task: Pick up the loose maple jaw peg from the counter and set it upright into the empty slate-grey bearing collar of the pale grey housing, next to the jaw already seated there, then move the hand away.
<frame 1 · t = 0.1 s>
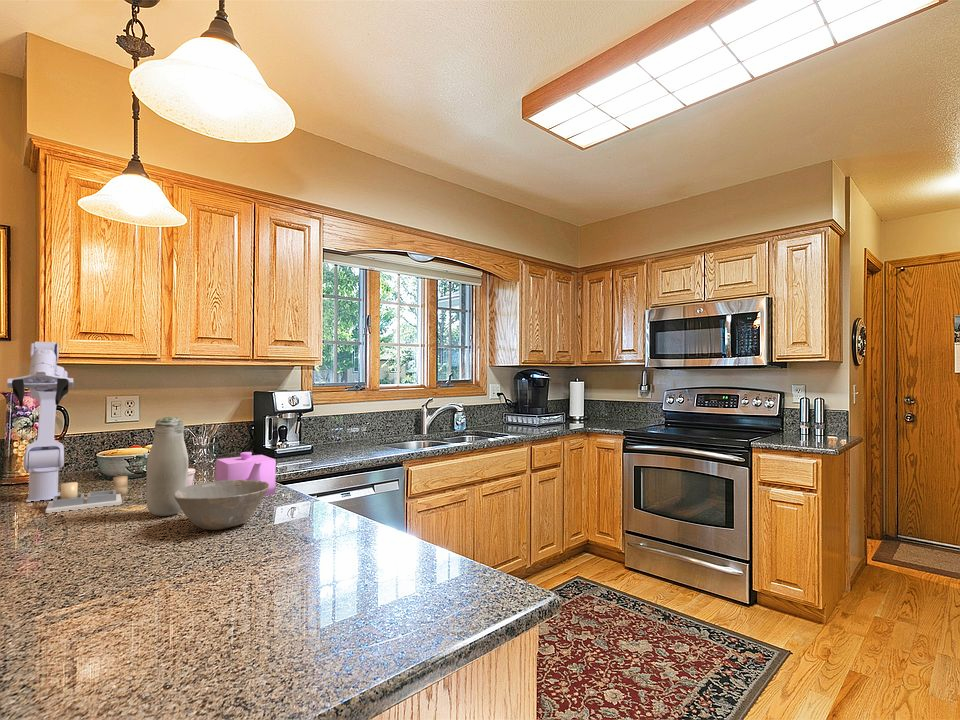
hand: (39, 402, 145), 32 cm above the countertop, tool tilted 50°, fingers open, 7 cm apart
teapot: (246, 495, 174), on the countertop
ceramic bowl: (222, 526, 139), on the countertop
smoothie: (183, 501, 165), on the countertop
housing: (85, 504, 159), on the countertop
glass bottle: (167, 515, 149), on the countertop
jaw peg: (120, 495, 172), on the countertop
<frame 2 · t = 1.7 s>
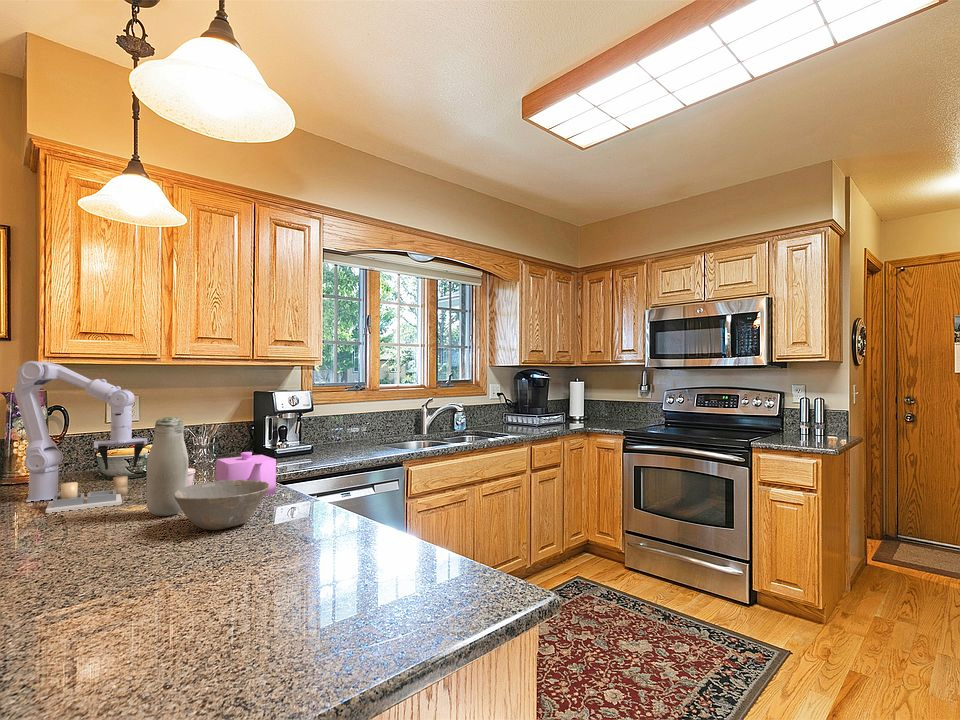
hand: (120, 467, 172), 9 cm above the countertop, tool pointing down, fingers open, 7 cm apart
nothing on the countertop moved.
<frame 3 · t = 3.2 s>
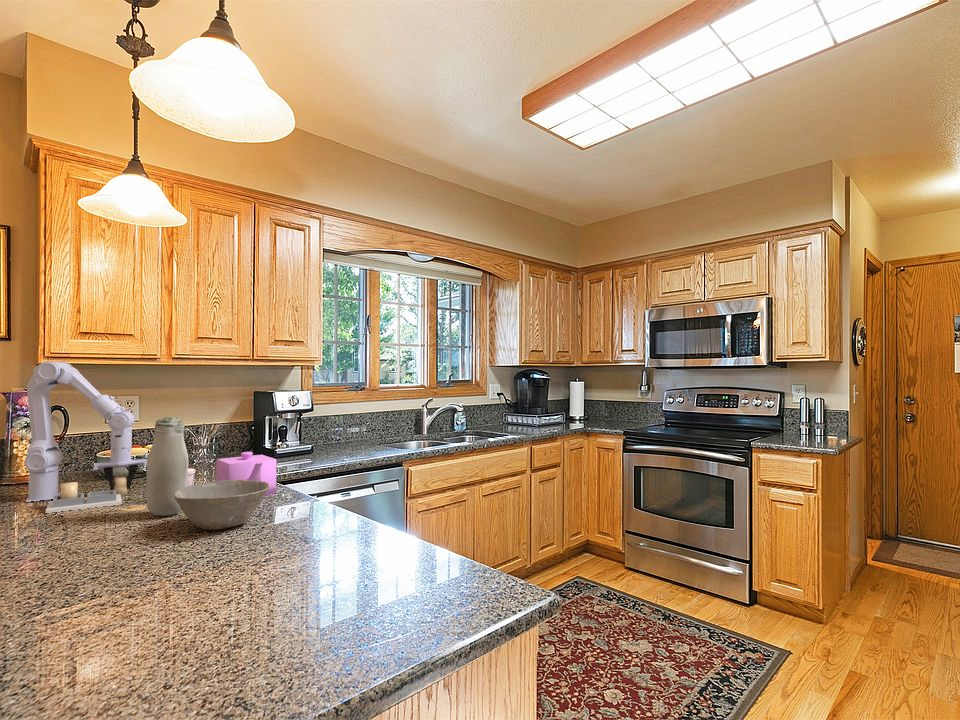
hand: (120, 489, 172), 2 cm above the countertop, tool pointing down, fingers closed on jaw peg, 4 cm apart
jaw peg: (120, 495, 172), on the countertop, touching gripper
everything else where it was.
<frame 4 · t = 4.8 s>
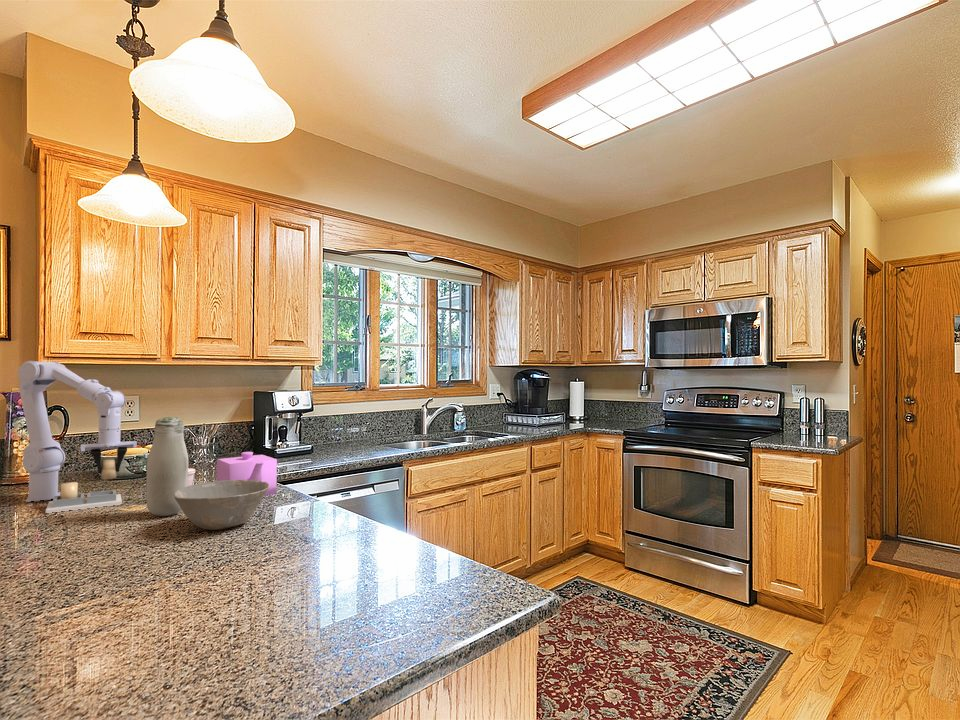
hand: (108, 472, 165), 9 cm above the countertop, tool pointing down, fingers closed on jaw peg, 4 cm apart
jaw peg: (108, 478, 165), point 7 cm above the countertop, touching gripper
everything else where it was.
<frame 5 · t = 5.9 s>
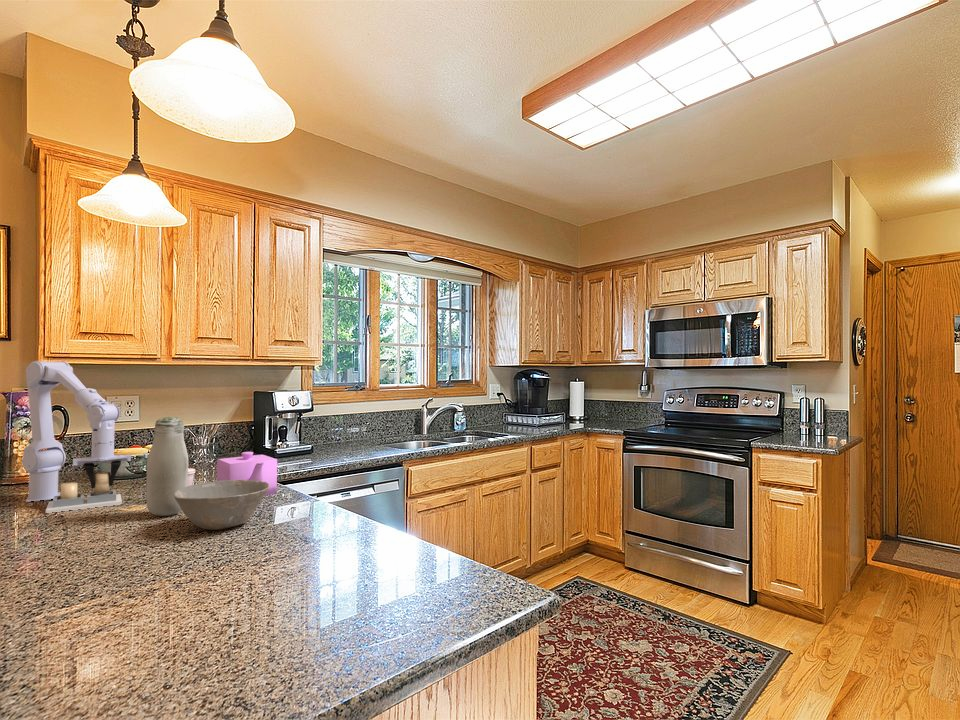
hand: (102, 486, 162), 5 cm above the countertop, tool pointing down, fingers closed on jaw peg, 4 cm apart
jaw peg: (101, 492, 162), point 3 cm above the countertop, touching gripper
everything else where it was.
when the fingers open (4 cm above the countertop, at t = 6.6 s): jaw peg stays where it is, resting on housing.
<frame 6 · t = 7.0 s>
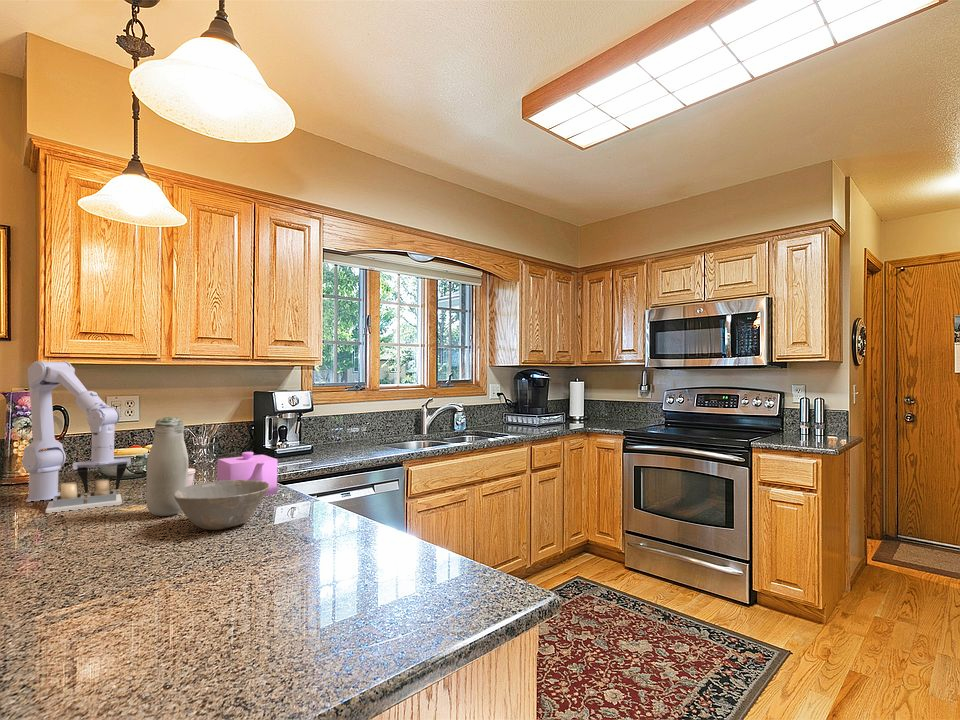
hand: (101, 490, 162), 4 cm above the countertop, tool pointing down, fingers open, 7 cm apart
jaw peg: (101, 499, 162), point 1 cm above the countertop, touching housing
everything else where it was.
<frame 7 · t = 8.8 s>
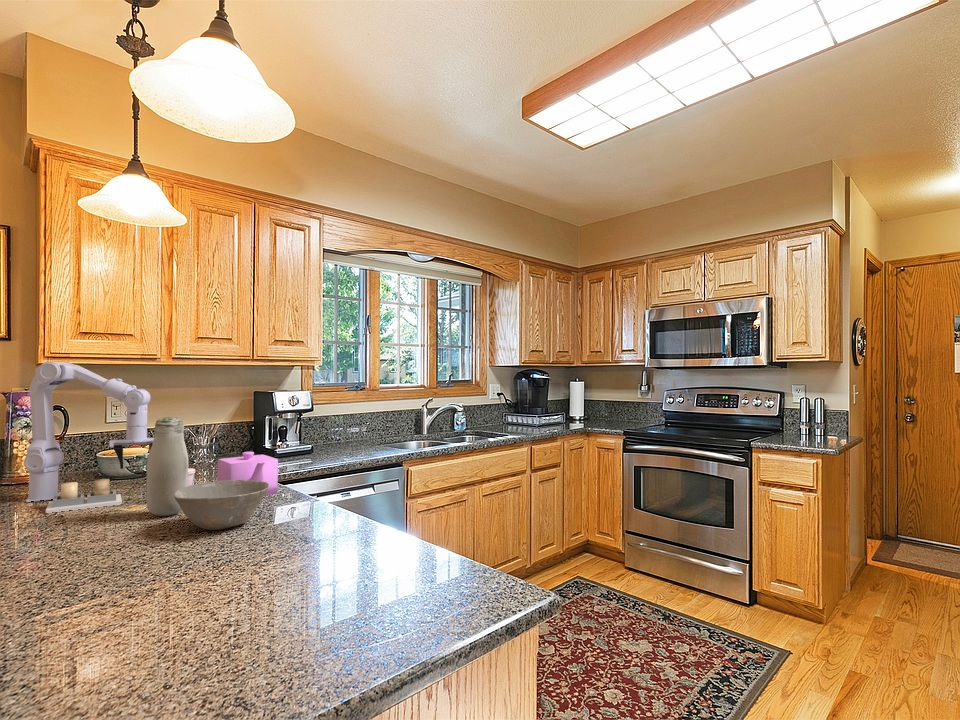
hand: (135, 467, 171), 9 cm above the countertop, tool pointing down, fingers open, 7 cm apart
nothing on the countertop moved.
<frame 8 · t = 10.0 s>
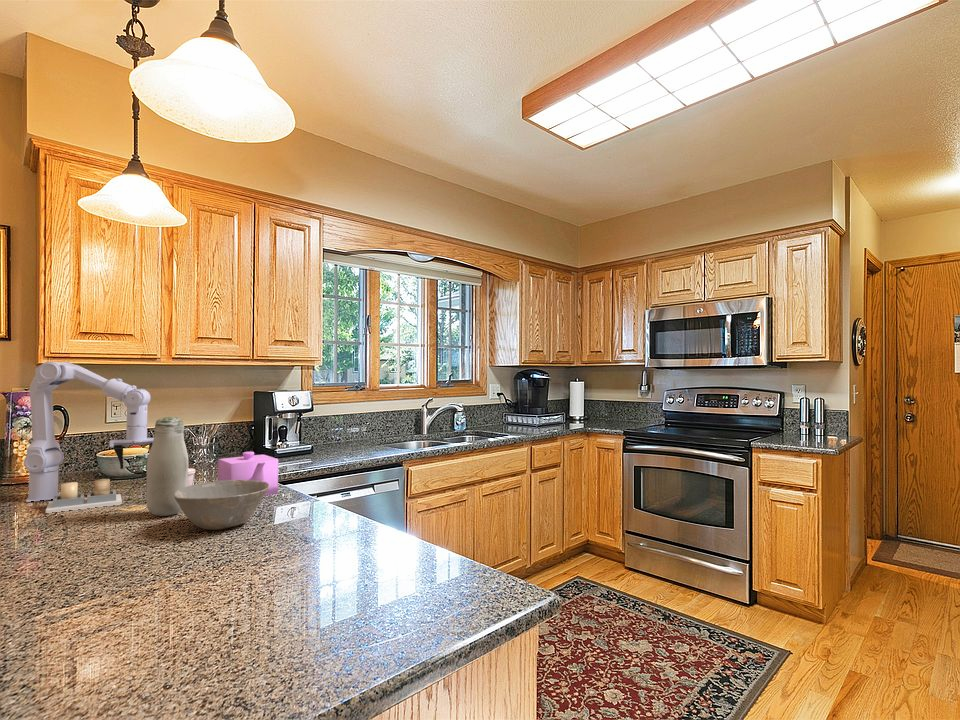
hand: (135, 467, 171), 9 cm above the countertop, tool pointing down, fingers open, 7 cm apart
nothing on the countertop moved.
at the end: jaw peg 0.0 cm from the target spot on the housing, point 1.0 cm above the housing's base; jaw peg tilted 1°; the gripper is holding nothing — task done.
